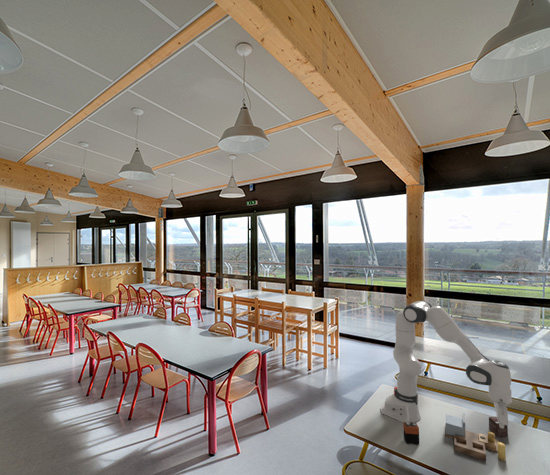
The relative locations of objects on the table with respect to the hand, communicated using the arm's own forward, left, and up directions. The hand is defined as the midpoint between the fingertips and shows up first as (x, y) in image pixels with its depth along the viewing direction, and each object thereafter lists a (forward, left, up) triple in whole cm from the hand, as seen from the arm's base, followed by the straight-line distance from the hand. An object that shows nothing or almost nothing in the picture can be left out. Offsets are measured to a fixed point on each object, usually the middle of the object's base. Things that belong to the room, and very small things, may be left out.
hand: (500, 423), depth 138 cm
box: (+1, +22, -17) cm, 28 cm away
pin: (0, 0, -17) cm, 17 cm away
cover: (-19, +9, -16) cm, 26 cm away
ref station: (-12, +9, -17) cm, 23 cm away
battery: (-39, -10, -17) cm, 44 cm away
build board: (-13, -1, -17) cm, 22 cm away
